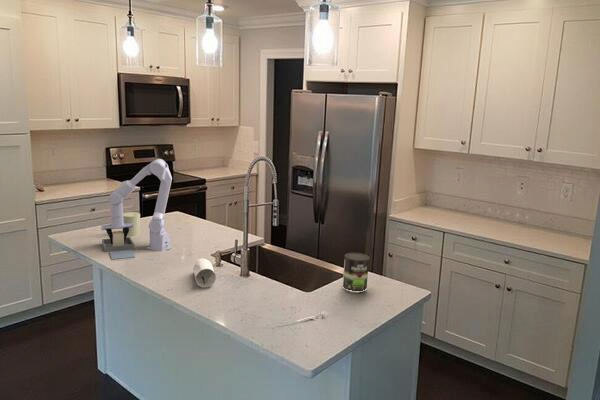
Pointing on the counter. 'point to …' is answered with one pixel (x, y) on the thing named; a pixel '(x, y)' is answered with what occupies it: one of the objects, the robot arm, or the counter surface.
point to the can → (135, 219)
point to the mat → (121, 255)
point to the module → (118, 238)
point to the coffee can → (355, 271)
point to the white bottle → (204, 273)
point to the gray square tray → (127, 246)
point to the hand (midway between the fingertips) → (117, 243)
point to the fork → (311, 317)
